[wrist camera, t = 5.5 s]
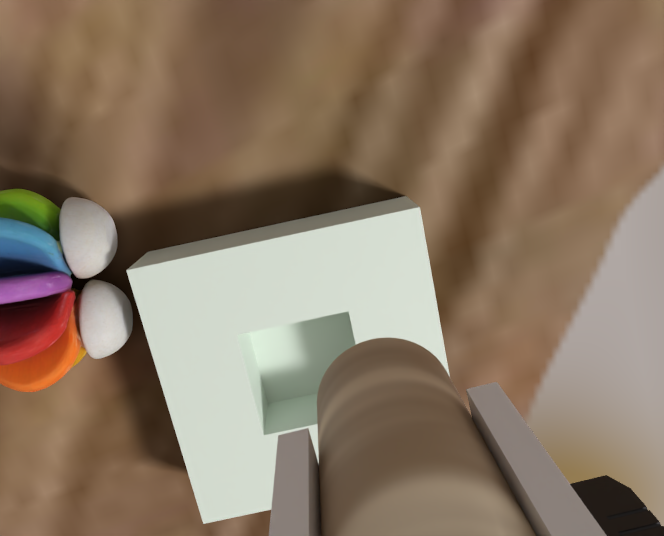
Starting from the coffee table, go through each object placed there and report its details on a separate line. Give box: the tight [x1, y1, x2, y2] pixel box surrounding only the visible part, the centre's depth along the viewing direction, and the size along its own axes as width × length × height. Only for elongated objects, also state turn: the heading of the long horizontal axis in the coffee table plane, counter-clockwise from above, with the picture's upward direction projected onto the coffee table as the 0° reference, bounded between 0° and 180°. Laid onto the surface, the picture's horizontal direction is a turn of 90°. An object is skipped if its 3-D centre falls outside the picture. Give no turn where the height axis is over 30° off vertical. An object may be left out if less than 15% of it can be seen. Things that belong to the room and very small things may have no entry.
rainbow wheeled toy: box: [0, 189, 133, 392], centre depth 29 cm, size 8×10×7 cm
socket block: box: [126, 196, 450, 524], centre depth 32 cm, size 14×14×4 cm
